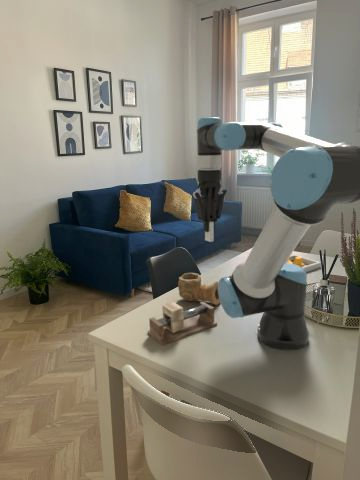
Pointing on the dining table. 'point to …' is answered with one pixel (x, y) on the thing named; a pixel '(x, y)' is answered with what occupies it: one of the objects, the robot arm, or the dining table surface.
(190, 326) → the cradle
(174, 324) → the collar
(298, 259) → the pipe clamp
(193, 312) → the rod
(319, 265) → the parts corral
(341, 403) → the dining table surface
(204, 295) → the pipe
